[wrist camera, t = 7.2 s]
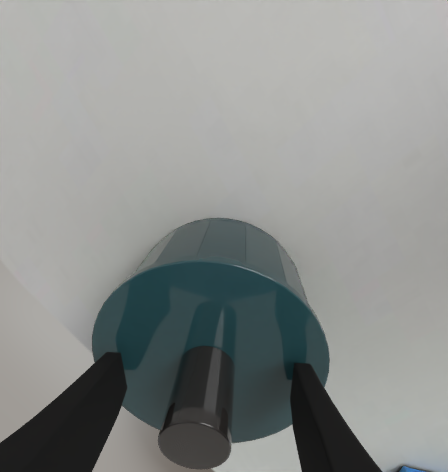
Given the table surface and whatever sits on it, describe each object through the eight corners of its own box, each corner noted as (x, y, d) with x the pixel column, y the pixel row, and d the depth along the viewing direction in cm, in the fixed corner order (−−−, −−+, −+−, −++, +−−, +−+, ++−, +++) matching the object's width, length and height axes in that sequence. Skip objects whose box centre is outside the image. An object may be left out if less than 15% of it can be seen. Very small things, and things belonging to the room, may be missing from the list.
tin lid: (77, 370, 14) (10, 466, 10) (154, 202, 10) (96, 250, 6) (249, 446, 15) (249, 559, 11) (372, 320, 12) (438, 421, 8)
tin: (123, 310, 18) (78, 379, 13) (184, 186, 15) (153, 217, 10) (247, 369, 20) (247, 453, 15) (330, 267, 16) (368, 331, 11)
